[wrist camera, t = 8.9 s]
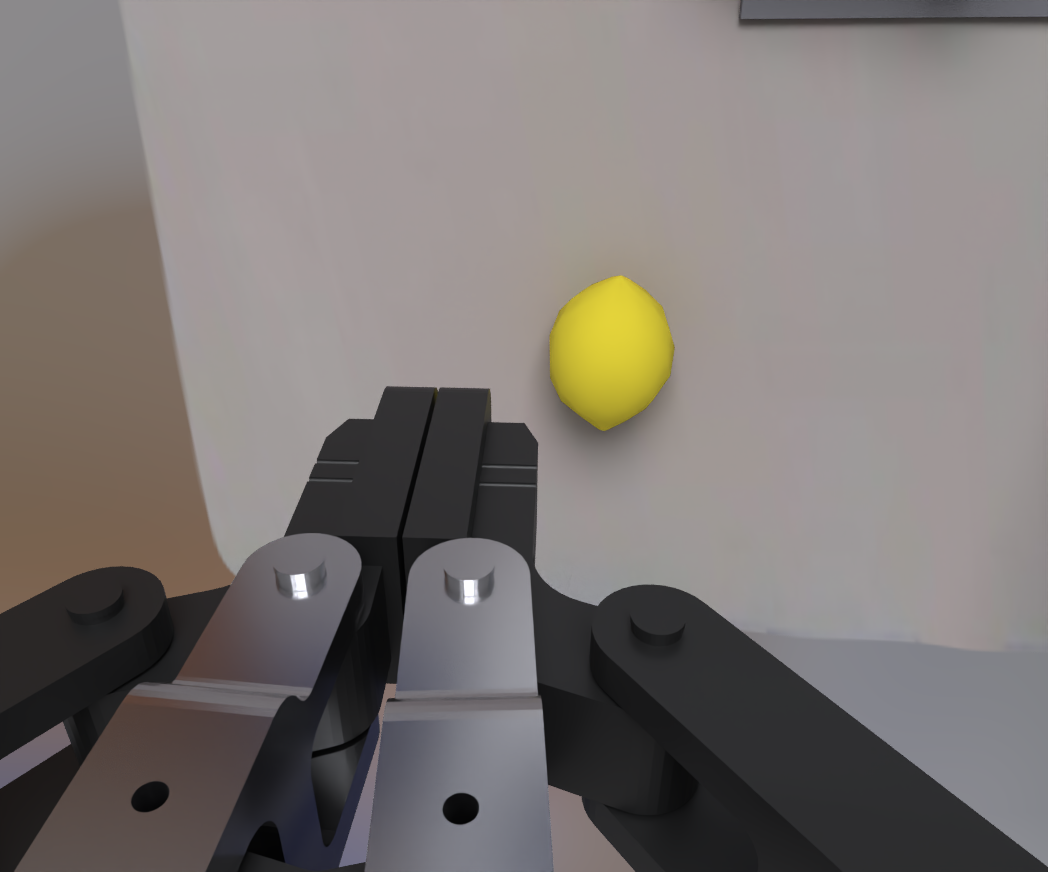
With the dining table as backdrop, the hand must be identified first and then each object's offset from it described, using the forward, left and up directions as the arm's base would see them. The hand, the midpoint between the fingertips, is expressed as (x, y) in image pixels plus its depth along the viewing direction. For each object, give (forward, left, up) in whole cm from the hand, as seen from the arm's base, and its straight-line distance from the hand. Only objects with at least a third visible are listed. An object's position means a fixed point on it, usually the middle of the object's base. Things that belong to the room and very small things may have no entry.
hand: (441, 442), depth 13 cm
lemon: (-4, +11, -27) cm, 29 cm away
